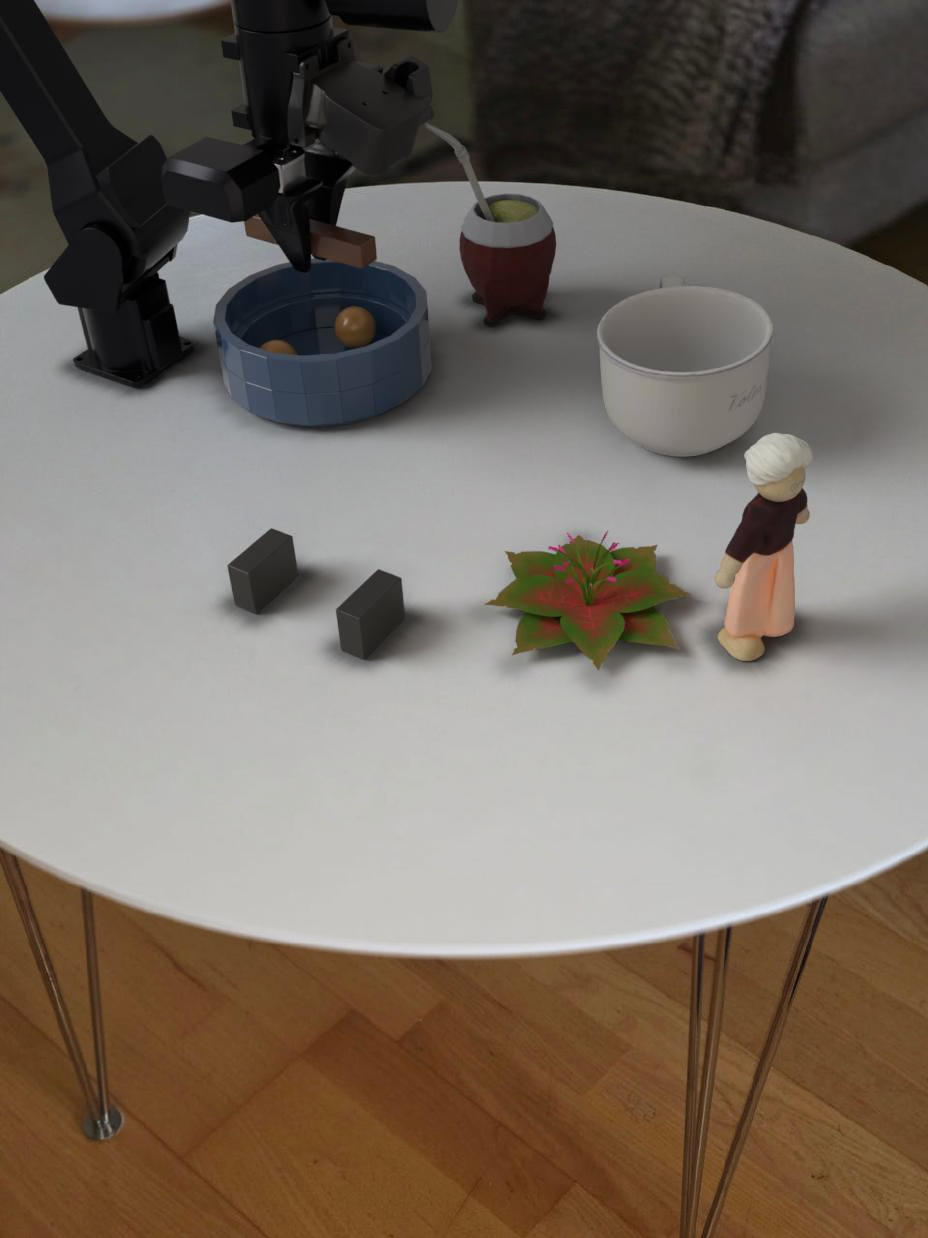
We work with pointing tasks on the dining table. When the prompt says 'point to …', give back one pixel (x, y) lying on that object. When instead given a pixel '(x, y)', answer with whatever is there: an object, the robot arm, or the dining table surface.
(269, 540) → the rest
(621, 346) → the teacup
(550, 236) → the mate gourd
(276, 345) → the bead
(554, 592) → the red green leafy plant
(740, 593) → the grandmother figurine
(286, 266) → the bowl
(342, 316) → the bead
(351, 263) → the stick
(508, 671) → the dining table surface
